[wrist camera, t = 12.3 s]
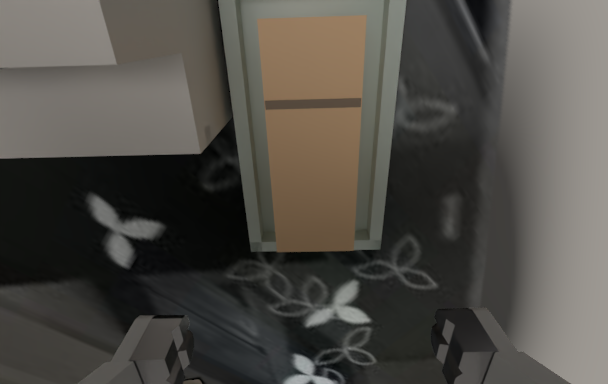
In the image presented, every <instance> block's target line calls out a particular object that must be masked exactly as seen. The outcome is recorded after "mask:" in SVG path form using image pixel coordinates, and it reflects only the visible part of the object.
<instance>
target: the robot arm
mask: <svg viewBox="0 0 608 384" xmlns="http://www.w3.org/2000/svg"><path fill="white" fill-rule="evenodd" d="M434 318H435V320H436V322H437V323H436V324H435V325H434V326H433V327H432V330H431V344H432V347H433V351H434V353H435V356H436V358H437V359H439V360H440V361H441V362H442V363H443V364H444V366H443V369H442V372H443V374H444V377H445V379H446V381H447V384H570V383H569V382H567V381H566V380H564V379H563V378H561V377H560V376H558V375H557V374H555V373H554V372H552V371H551V370H549V369H548V368H546V367H545V366H543V365H542V364H540V363H539V362H537V361H536V360H534V359H533V358H531V357H530V356H528V355H527V354H525V353H524V352H518V351H517V350H516V348H515V347H514V346H513V344H512V343H511V341H510V340H509V338H508V337H507V336H506V334H505V333H504V331H503V330H502V329H501V327H500V326H499V324H498V323H497V321H496V320H495V319H494V317H493V316H492V315H491V313H490V312H489V310H488V309H486V308H485V307H481V308H447V309H437V311H436V312H435V316H434ZM189 324H190V322H189V319H188V316H185V315H152V316H139V317H137V318H136V319H135V321H134V322H133V324H132V326H131V327H130V329H129V331H128V332H127V334H126V336H125V338H124V339H123V341H122V343H121V344H120V346H119V348H118V349H117V351H116V353H115V354H114V356H113V358H112V360H111V361H110V362H105V363H103V364H102V365H101V366H99V367H98V368H97V369H96V370H94V371H93V372H92V373H90V374H89V375H88V376H86V377H85V378H84V379H82V380H81V381H80V382H78V383H77V384H183V382H184V379H185V375H184V372H183V370H184V369H185V368H186V367H187V366H188V365H189V364H190V361H191V358H192V355H193V348H194V338H193V333H192V332H191V331H189V330H188V327H189Z"/></svg>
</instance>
